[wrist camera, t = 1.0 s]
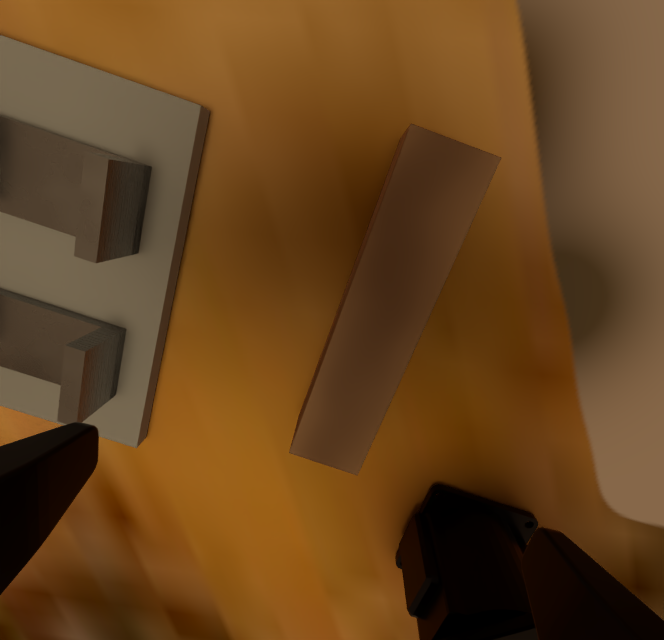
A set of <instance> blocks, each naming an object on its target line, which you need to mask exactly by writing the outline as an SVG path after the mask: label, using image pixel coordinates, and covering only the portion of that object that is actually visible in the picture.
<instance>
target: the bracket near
mask: <svg viewBox="0 0 664 640" xmlns="http://www.w3.org/2000/svg"><path fill="white" fill-rule="evenodd" d="M151 171H152V166H149V165H146V164H143V163H140V162H137V161H134V160H131V159H128V158H125V157H123V156H120V155H117V154H114V153H111V152H108V151H105V150H102V149H99V148H96V147H93V146H90V145H87V144H85V143H82V142H79V141H76V140H73V139H70V138H67V137H64V136H61V135H58V134H55V133H52V132H50V131H47V130H44V129H41V128H38V127H35V126H32V125H29V124H26V123H23V122H20V121H17V120H15V119H12V118H9V117H6V116H3V115H0V212H3V213H6V214H9V215H12V216H15V217H18V218H21V219H24V220H27V221H30V222H33V223H36V224H39V225H42V226H45V227H48V228H51V229H54V230H57V231H60V232H63V233H66V234H69V235H72V236H75V237H76V240H75V250H74V256H75V257H78V258H81V259H84V260H87V261H90V262H93V263H100V262H105V261H109V260H113V259H117V258H122V257H126V256H130V255H134V254H138V253H139V247H140V240H141V234H142V228H143V221H144V215H145V209H146V202H147V196H148V190H149V183H150V177H151Z"/></svg>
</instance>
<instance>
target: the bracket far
mask: <svg viewBox="0 0 664 640" xmlns="http://www.w3.org/2000/svg"><path fill="white" fill-rule="evenodd" d="M125 336H126V329H125V328H122V327H119V326H116V325H113V324H110V323H107V322H104V321H101V320H98V319H95V318H91V317H88V316H85V315H82V314H79V313H76V312H73V311H70V310H67V309H64V308H61V307H58V306H54V305H51V304H48V303H45V302H42V301H39V300H36V299H33V298H30V297H27V296H24V295H20V294H17V293H14V292H11V291H8V290H5V289H2V288H0V366H1V367H4V368H7V369H10V370H14V371H17V372H20V373H23V374H26V375H29V376H33V377H36V378H39V379H42V380H45V381H48V382H52V383H55V384H58V385H61V388H60V397H59V407H58V417H57V421H58V422H61V423H64V424H70V423H73V422H81V423H82V422H83V421H84V420H86V419H87V418H88V417H89V416H91V415H92V414H93V413H94V412H96V411H97V410H98V409H99V408H101V407H102V406H103V405H104V404H106V403H107V402H108V401H109V400H111V399H112V398H113V397H114V396H116V393H117V386H118V380H119V374H120V367H121V361H122V355H123V348H124V342H125Z"/></svg>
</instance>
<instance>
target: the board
mask: <svg viewBox="0 0 664 640" xmlns="http://www.w3.org/2000/svg"><path fill="white" fill-rule="evenodd" d="M209 114H210V111H209V110H208V109H206V108H204V107H203V106H201V105H198V104H195V103H193V102H190V101H187V100H184V99H181V98H178V97H176V96H173V95H170V94H167V93H164V92H161V91H158V90H156V89H153V88H150V87H147V86H144V85H141V84H139V83H136V82H133V81H130V80H127V79H124V78H121V77H119V76H116V75H113V74H110V73H107V72H104V71H102V70H99V69H96V68H93V67H90V66H87V65H84V64H82V63H79V62H76V61H73V60H70V59H67V58H65V57H62V56H59V55H56V54H53V53H50V52H47V51H45V50H42V49H39V48H36V47H33V46H30V45H27V44H25V43H22V42H19V41H16V40H13V39H10V38H8V37H5V36H2V35H0V115H3V116H6V117H9V118H12V119H15V120H17V121H20V122H23V123H26V124H29V125H32V126H35V127H38V128H41V129H44V130H47V131H50V132H52V133H55V134H58V135H61V136H64V137H67V138H70V139H73V140H76V141H79V142H82V143H85V144H87V145H90V146H93V147H96V148H99V149H102V150H105V151H108V152H111V153H114V154H117V155H120V156H123V157H125V158H128V159H131V160H134V161H137V162H140V163H143V164H146V165H149V166H152V171H151V177H150V183H149V190H148V196H147V202H146V209H145V215H144V221H143V228H142V234H141V240H140V247H139V253H138V254H134V255H130V256H126V257H122V258H117V259H113V260H109V261H105V262H100V263H93V262H90V261H87V260H84V259H81V258H78V257H75V256H74V250H75V240H76V237H75V236H72V235H69V234H66V233H63V232H60V231H57V230H54V229H51V228H48V227H45V226H42V225H39V224H36V223H33V222H30V221H27V220H24V219H21V218H18V217H15V216H12V215H9V214H6V213H3V212H0V288H2V289H5V290H8V291H11V292H14V293H17V294H20V295H24V296H27V297H30V298H33V299H36V300H39V301H42V302H45V303H48V304H51V305H54V306H58V307H61V308H64V309H67V310H70V311H73V312H76V313H79V314H82V315H85V316H88V317H91V318H95V319H98V320H101V321H104V322H107V323H110V324H113V325H116V326H119V327H122V328H125V329H126V336H125V342H124V348H123V355H122V361H121V367H120V374H119V380H118V386H117V393H116V396H114V397H113V398H112V399H111V400H109V401H108V402H107V403H106V404H104V405H103V406H102V407H101V408H99V409H98V410H97V411H96V412H94V413H93V414H92V415H91V416H89V417H88V418H87V419H86V420H84V421H83V422H82V423H86V424H90V425H94V426H96V427H97V428H98V431H99V436H100V437H103V438H106V439H109V440H113V441H116V442H119V443H122V444H125V445H129V446H132V447H135V448H137V447H138V446H139V445H140V444H141V442H142V441H143V440H144V439H145V438H146V435H147V430H148V425H149V420H150V415H151V410H152V405H153V400H154V395H155V389H156V384H157V379H158V374H159V369H160V364H161V359H162V354H163V349H164V343H165V338H166V333H167V328H168V323H169V318H170V313H171V308H172V303H173V297H174V292H175V287H176V282H177V277H178V272H179V267H180V262H181V257H182V251H183V246H184V241H185V236H186V231H187V226H188V221H189V216H190V211H191V205H192V200H193V195H194V190H195V185H196V180H197V175H198V170H199V165H200V159H201V154H202V149H203V144H204V139H205V134H206V129H207V124H208V119H209ZM60 388H61V385H58V384H55V383H52V382H48V381H45V380H42V379H39V378H36V377H33V376H29V375H26V374H23V373H20V372H17V371H14V370H10V369H7V368H4V367H1V366H0V406H3V407H7V408H10V409H13V410H16V411H19V412H23V413H26V414H29V415H32V416H36V417H39V418H42V419H45V420H48V421H52V422H55V423H58V424H61V425H67V424H64V423H61V422H58V421H57V417H58V407H59V397H60Z"/></svg>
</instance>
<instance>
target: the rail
mask: <svg viewBox="0 0 664 640" xmlns="http://www.w3.org/2000/svg"><path fill="white" fill-rule="evenodd" d="M500 160H501V157H498V156H496V155H493V154H490V153H488V152H485V151H482V150H480V149H477V148H474V147H472V146H469V145H466V144H464V143H461V142H459V141H456V140H453V139H451V138H448V137H445V136H443V135H440V134H437V133H435V132H432V131H429V130H427V129H424V128H421V127H419V126H416V125H413V124H410V126H409V127H408V129H407V130H406V131H405V133H404V134H403V136H402V137H401V139H400V142H399V144H398V147H397V150H396V152H395V155H394V158H393V161H392V163H391V166H390V169H389V172H388V174H387V177H386V180H385V182H384V185H383V188H382V191H381V193H380V196H379V199H378V202H377V204H376V207H375V210H374V212H373V215H372V218H371V221H370V223H369V226H368V229H367V232H366V234H365V237H364V240H363V242H362V245H361V248H360V251H359V253H358V256H357V259H356V262H355V264H354V267H353V270H352V272H351V275H350V278H349V281H348V283H347V286H346V289H345V292H344V294H343V297H342V300H341V302H340V305H339V308H338V311H337V313H336V316H335V319H334V322H333V324H332V327H331V330H330V332H329V335H328V338H327V341H326V343H325V346H324V349H323V352H322V354H321V357H320V360H319V362H318V365H317V368H316V371H315V373H314V376H313V379H312V382H311V384H310V387H309V390H308V393H307V395H306V398H305V401H304V403H303V406H302V409H301V412H300V414H299V417H298V421H297V425H296V429H295V433H294V436H293V440H292V444H291V448H290V451H289V453H291V454H294V455H297V456H300V457H303V458H306V459H309V460H312V461H315V462H318V463H321V464H324V465H327V466H330V467H333V468H336V469H340V470H343V471H346V472H349V473H352V474H355V475H358V473H359V471H360V469H361V467H362V464H363V462H364V460H365V458H366V456H367V453H368V451H369V449H370V447H371V444H372V442H373V440H374V438H375V436H376V433H377V431H378V429H379V427H380V425H381V422H382V420H383V418H384V416H385V414H386V411H387V409H388V407H389V405H390V403H391V400H392V398H393V396H394V394H395V392H396V389H397V387H398V385H399V383H400V380H401V378H402V376H403V374H404V372H405V369H406V367H407V365H408V363H409V361H410V358H411V356H412V354H413V352H414V350H415V347H416V345H417V343H418V341H419V339H420V336H421V334H422V332H423V330H424V328H425V325H426V323H427V321H428V319H429V317H430V314H431V312H432V310H433V308H434V305H435V303H436V301H437V299H438V297H439V294H440V292H441V290H442V288H443V286H444V283H445V281H446V279H447V277H448V275H449V272H450V270H451V268H452V266H453V264H454V261H455V259H456V257H457V255H458V253H459V250H460V248H461V246H462V244H463V241H464V239H465V237H466V235H467V233H468V230H469V228H470V226H471V224H472V222H473V219H474V217H475V215H476V213H477V211H478V208H479V206H480V204H481V202H482V200H483V197H484V195H485V193H486V191H487V189H488V186H489V184H490V182H491V180H492V177H493V175H494V173H495V171H496V169H497V166H498V164H499V162H500Z"/></svg>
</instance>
